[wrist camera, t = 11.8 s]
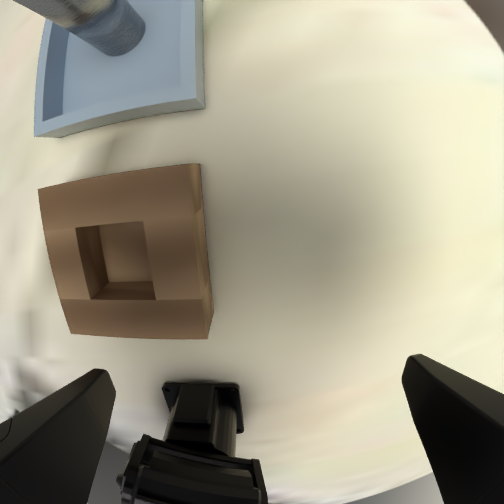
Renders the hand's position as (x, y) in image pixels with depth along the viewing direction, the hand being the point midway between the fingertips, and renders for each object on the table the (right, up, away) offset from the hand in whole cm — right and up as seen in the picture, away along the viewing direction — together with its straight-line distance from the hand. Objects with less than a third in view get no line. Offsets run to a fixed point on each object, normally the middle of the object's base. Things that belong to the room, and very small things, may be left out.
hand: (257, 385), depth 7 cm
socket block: (-8, +4, +11) cm, 14 cm away
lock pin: (-9, +18, +6) cm, 21 cm away
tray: (-9, +18, +7) cm, 22 cm away
